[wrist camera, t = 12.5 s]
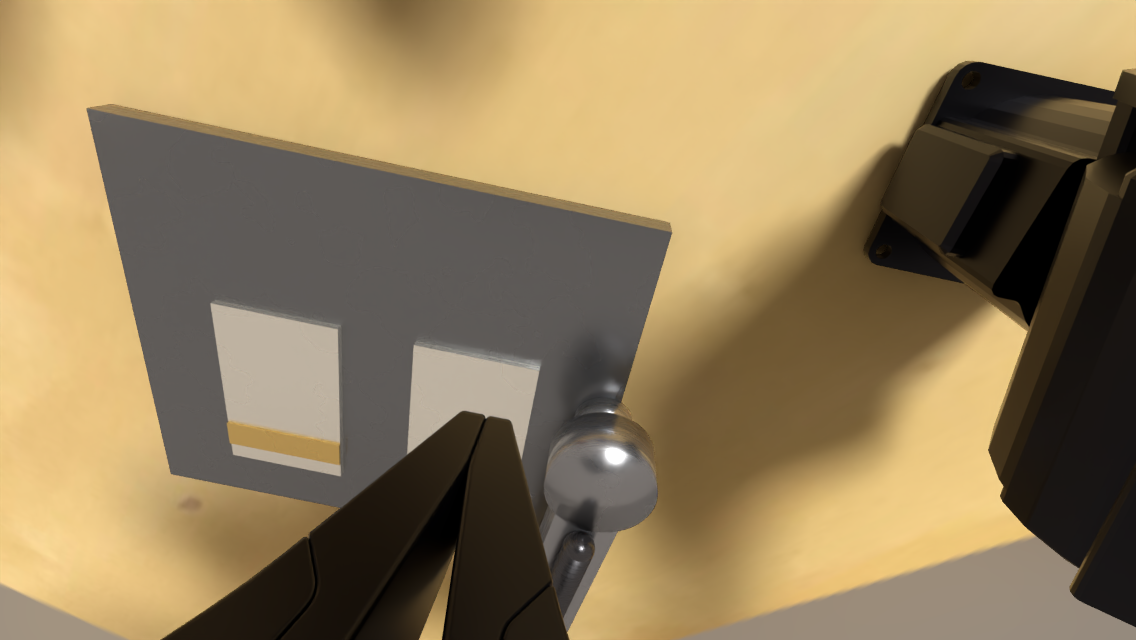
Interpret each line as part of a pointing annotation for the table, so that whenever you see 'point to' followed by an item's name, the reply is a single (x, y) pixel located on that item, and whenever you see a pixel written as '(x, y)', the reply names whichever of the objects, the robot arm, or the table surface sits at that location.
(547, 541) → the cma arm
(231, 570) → the table surface
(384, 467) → the panel
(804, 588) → the table surface
